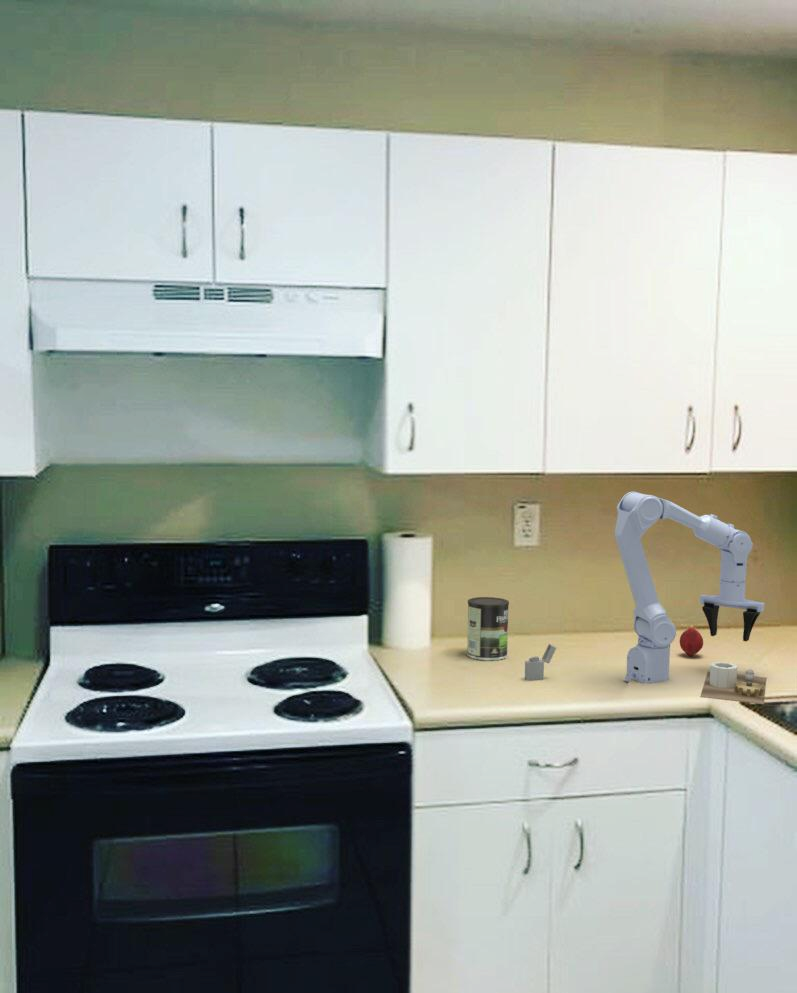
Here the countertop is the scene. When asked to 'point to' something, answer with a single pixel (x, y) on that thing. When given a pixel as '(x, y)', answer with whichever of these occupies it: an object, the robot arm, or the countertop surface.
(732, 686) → the hollow cylinder
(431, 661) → the countertop surface
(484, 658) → the coffee can
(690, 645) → the onion
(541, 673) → the lighter
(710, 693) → the gear board
